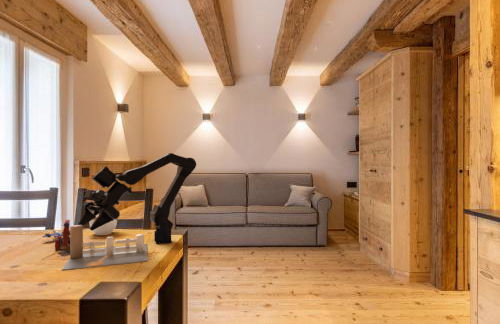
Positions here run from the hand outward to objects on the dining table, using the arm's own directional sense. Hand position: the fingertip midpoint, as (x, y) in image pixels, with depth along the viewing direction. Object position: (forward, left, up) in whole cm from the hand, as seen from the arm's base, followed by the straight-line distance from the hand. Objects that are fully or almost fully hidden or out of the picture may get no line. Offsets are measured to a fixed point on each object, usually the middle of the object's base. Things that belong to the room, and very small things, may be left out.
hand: (84, 228), depth 114 cm
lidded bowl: (-2, -39, -10) cm, 40 cm away
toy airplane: (+15, -33, -11) cm, 38 cm away
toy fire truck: (+9, -17, -10) cm, 22 cm away
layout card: (-9, +3, -10) cm, 14 cm away
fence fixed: (-14, +2, -10) cm, 17 cm away
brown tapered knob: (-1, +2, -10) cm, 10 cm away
